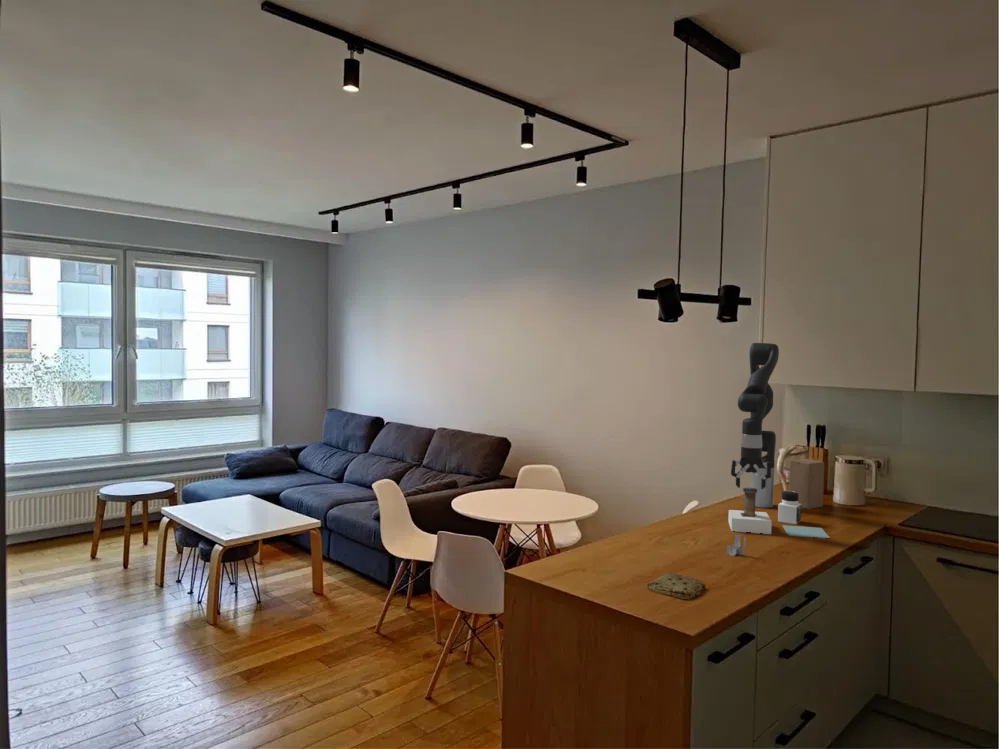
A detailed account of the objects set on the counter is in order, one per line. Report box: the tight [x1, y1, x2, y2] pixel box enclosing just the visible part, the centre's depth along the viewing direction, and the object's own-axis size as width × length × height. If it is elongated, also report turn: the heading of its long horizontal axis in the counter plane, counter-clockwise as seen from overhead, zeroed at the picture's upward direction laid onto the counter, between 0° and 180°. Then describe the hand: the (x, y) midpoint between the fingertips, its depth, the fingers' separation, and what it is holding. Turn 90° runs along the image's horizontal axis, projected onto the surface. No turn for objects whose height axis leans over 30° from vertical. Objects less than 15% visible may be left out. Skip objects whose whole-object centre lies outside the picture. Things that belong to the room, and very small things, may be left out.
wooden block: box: [789, 458, 825, 510], centre depth 296 cm, size 10×10×20 cm
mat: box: [781, 524, 831, 539], centre depth 252 cm, size 14×14×1 cm
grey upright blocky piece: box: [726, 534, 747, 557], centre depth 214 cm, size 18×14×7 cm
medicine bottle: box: [777, 490, 802, 525], centre depth 268 cm, size 7×7×12 cm
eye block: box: [727, 509, 773, 535], centre depth 256 cm, size 14×14×5 cm
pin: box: [742, 487, 757, 517], centre depth 256 cm, size 5×5×15 cm
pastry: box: [644, 572, 707, 600], centre depth 190 cm, size 17×17×3 cm
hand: (750, 488), depth 256 cm, fingers open, 8 cm apart
